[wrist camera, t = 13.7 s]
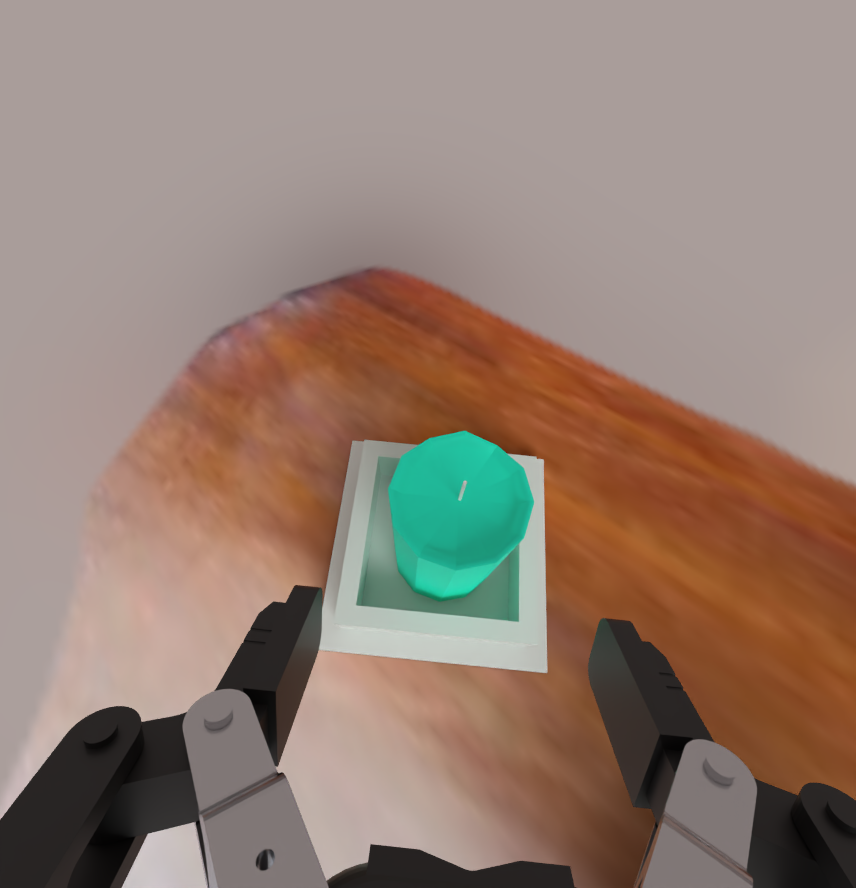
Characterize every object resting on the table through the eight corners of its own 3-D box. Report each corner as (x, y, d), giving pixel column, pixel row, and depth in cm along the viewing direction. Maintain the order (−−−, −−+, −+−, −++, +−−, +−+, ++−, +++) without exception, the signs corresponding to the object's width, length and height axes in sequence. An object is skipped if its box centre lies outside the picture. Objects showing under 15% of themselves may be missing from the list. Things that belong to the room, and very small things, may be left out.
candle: (509, 575, 28) (574, 521, 17) (418, 619, 26) (426, 592, 16) (464, 489, 30) (496, 392, 19) (379, 526, 29) (361, 445, 18)
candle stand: (538, 466, 32) (556, 440, 28) (541, 672, 27) (563, 674, 23) (354, 447, 32) (347, 419, 28) (318, 650, 27) (303, 648, 23)
